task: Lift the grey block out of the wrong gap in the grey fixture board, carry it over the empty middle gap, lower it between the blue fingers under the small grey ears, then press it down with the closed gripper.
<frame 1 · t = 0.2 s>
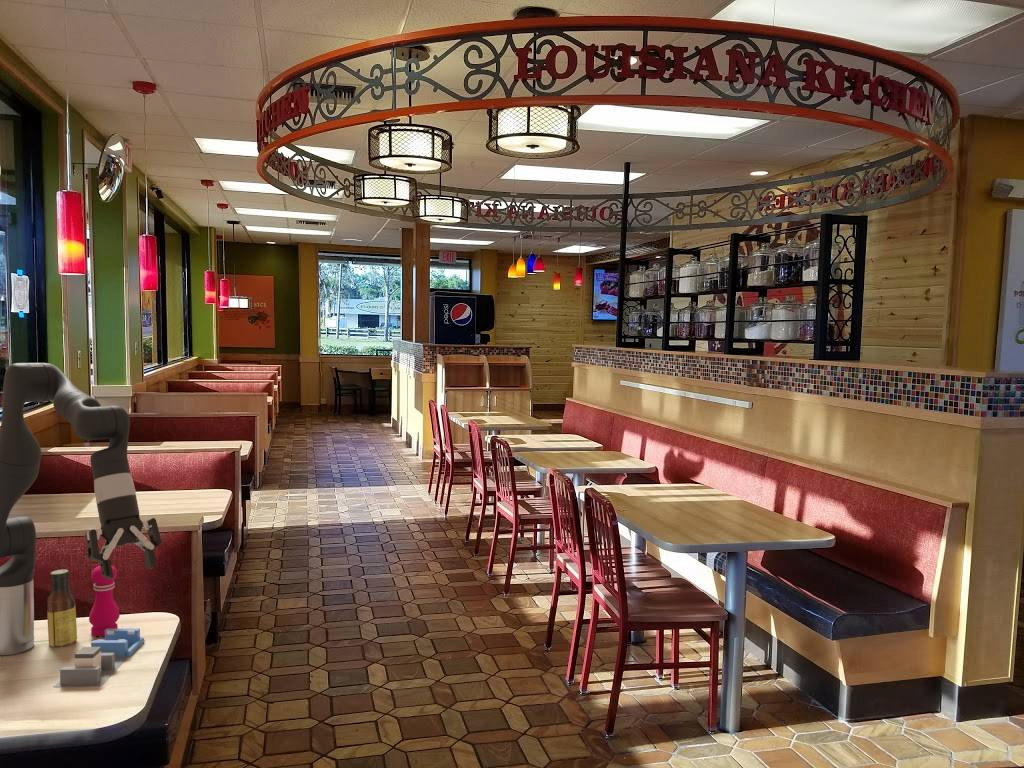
hand: (130, 573, 159), 31 cm above the table, tool tilted 20°, fingers open, 8 cm apart
sauce bottle: (62, 648, 194), on the table
grey block: (88, 675, 176), point 1 cm above the table, touching grey fixture board
pepper mill: (104, 633, 204), on the table
grey fixture board: (102, 667, 183), on the table
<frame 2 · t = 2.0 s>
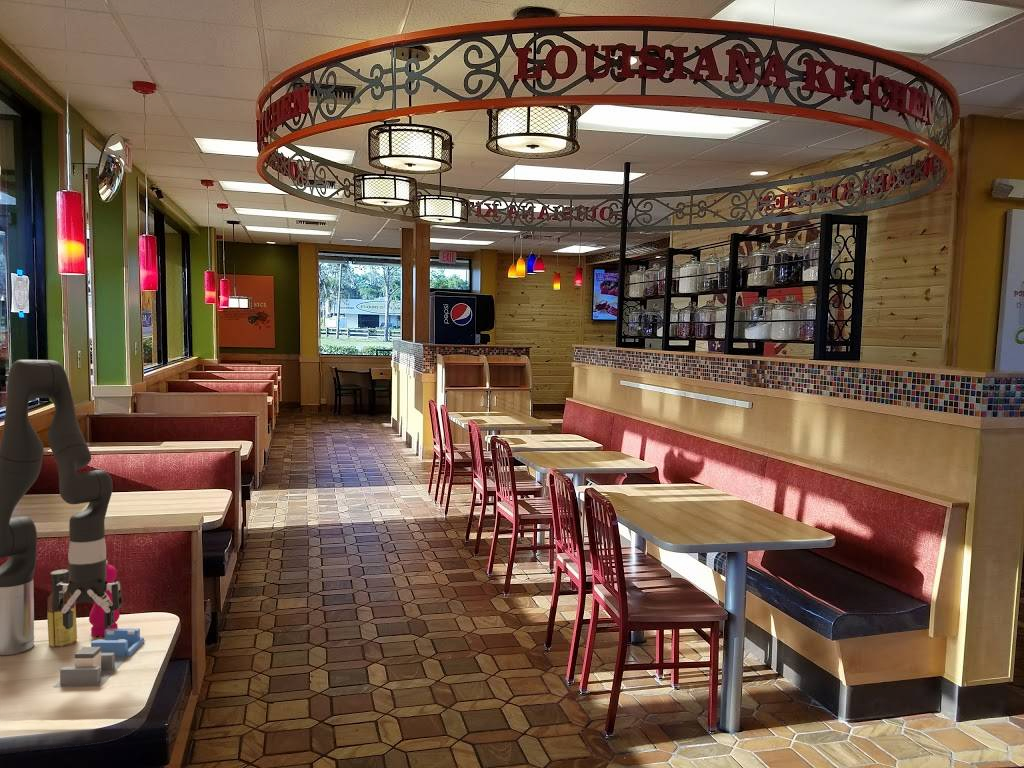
hand: (88, 627, 175), 13 cm above the table, tool pointing down, fingers open, 8 cm apart
nothing on the table moved.
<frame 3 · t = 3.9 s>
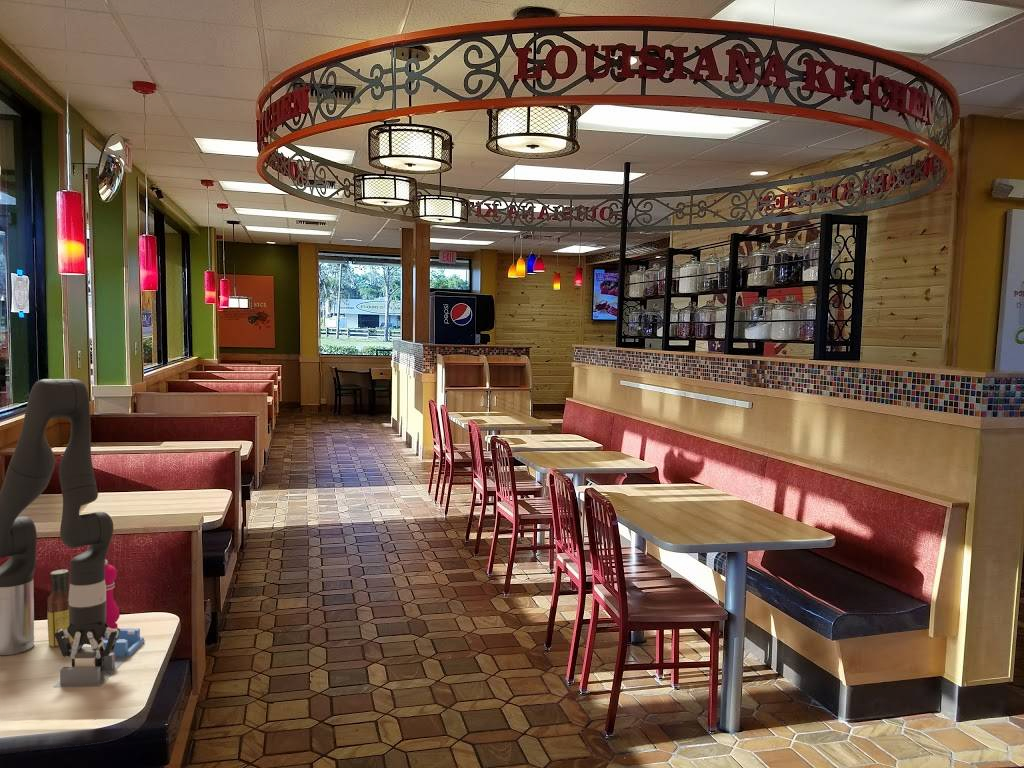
hand: (88, 672, 176), 2 cm above the table, tool pointing down, fingers closed on grey block, 4 cm apart
grey block: (88, 675, 176), point 2 cm above the table, touching grey fixture board, gripper
everything else where it was.
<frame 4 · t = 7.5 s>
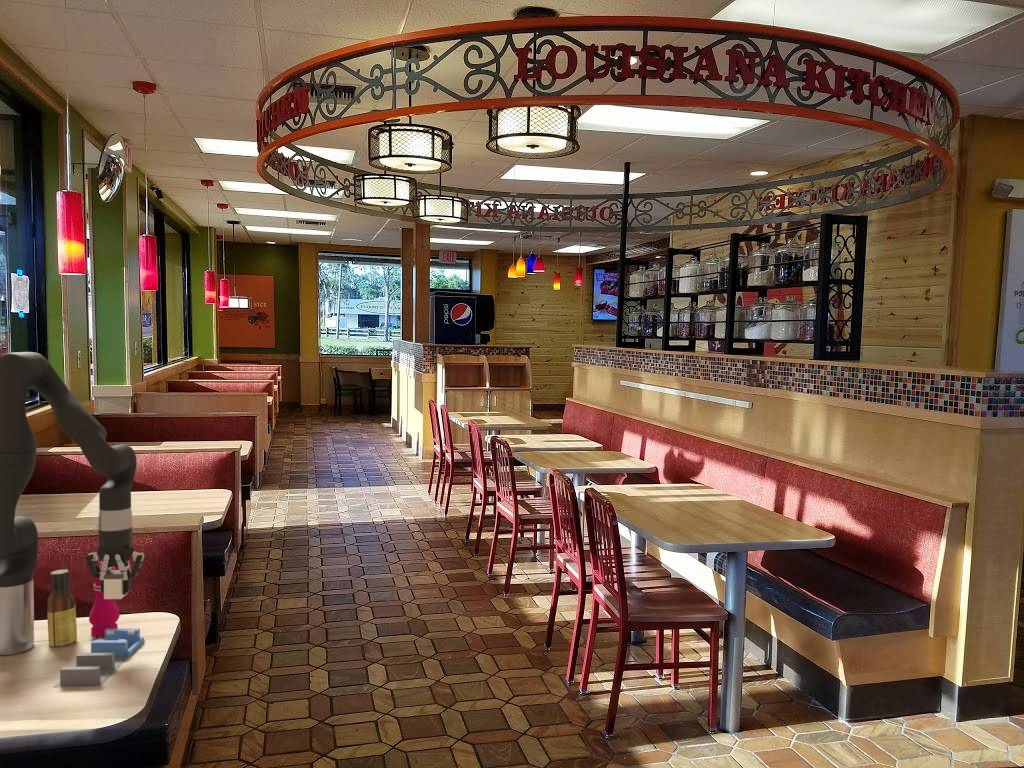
hand: (115, 593, 190), 16 cm above the table, tool pointing down, fingers closed on grey block, 4 cm apart
grey block: (116, 596, 190), point 15 cm above the table, touching gripper
everything else where it was.
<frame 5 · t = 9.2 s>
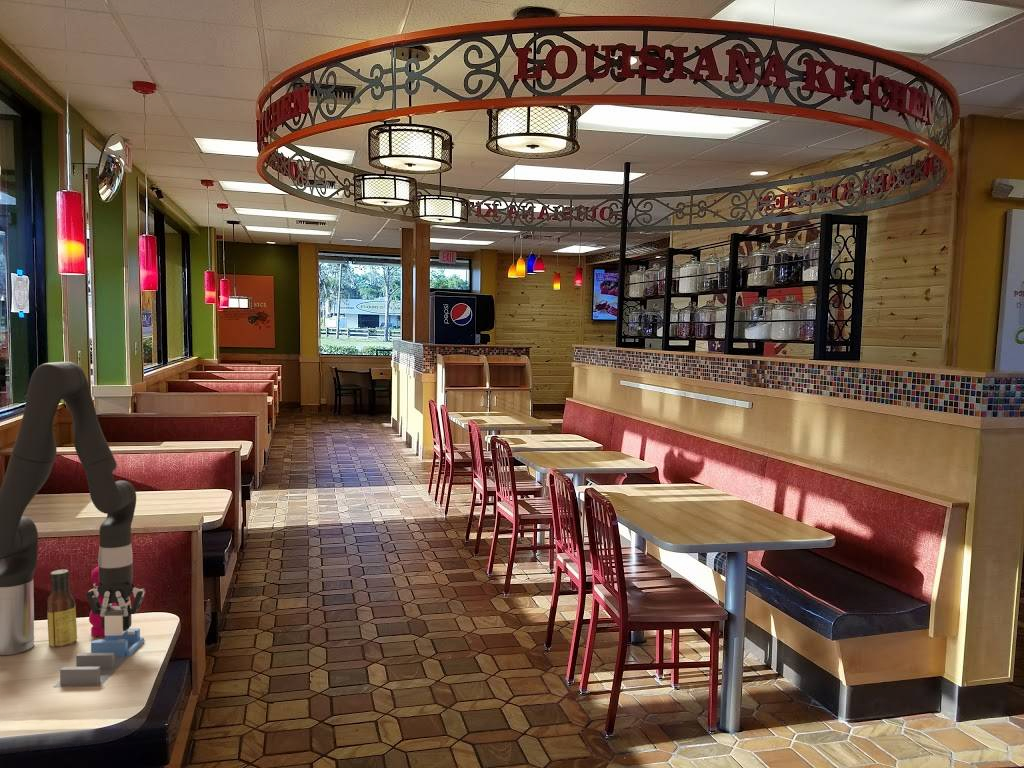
hand: (116, 629, 190), 7 cm above the table, tool pointing down, fingers closed on grey block, 4 cm apart
grey block: (116, 632, 190), point 6 cm above the table, touching gripper
everything else where it was.
when the fingers open (3 cm above the table, at t = 10.9 s): grey block drops 1 cm, resting on grey fixture board.
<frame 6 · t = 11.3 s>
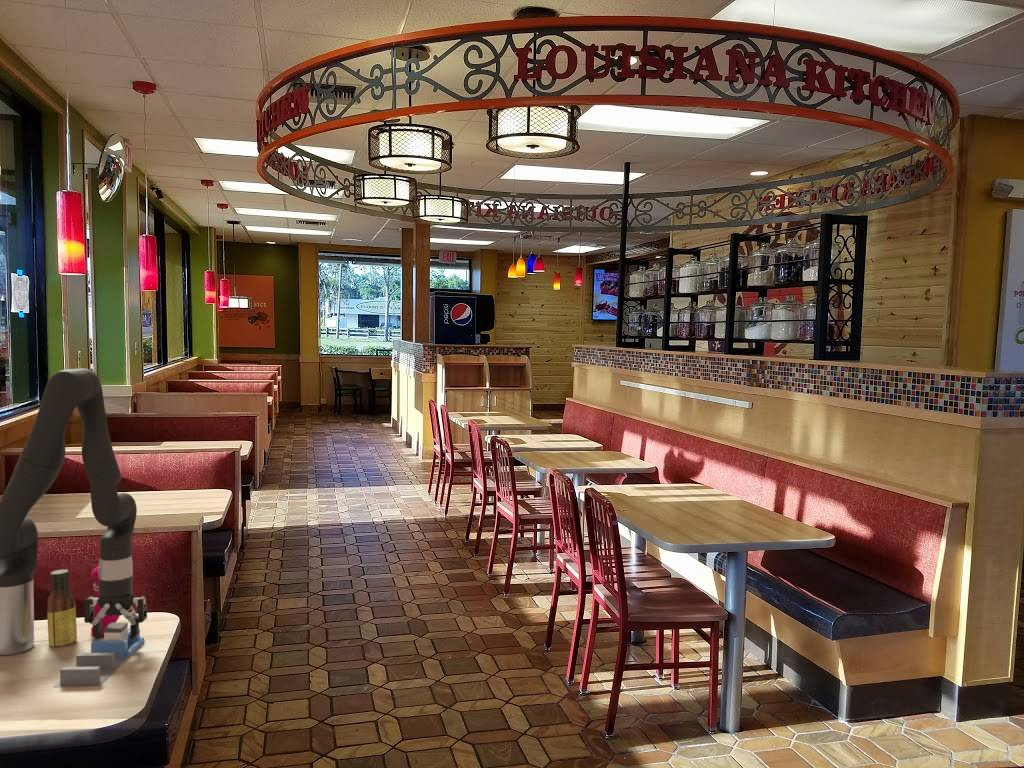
hand: (116, 638, 190), 4 cm above the table, tool pointing down, fingers open, 8 cm apart
grey block: (116, 649, 191), point 1 cm above the table, touching grey fixture board
everything else where it was.
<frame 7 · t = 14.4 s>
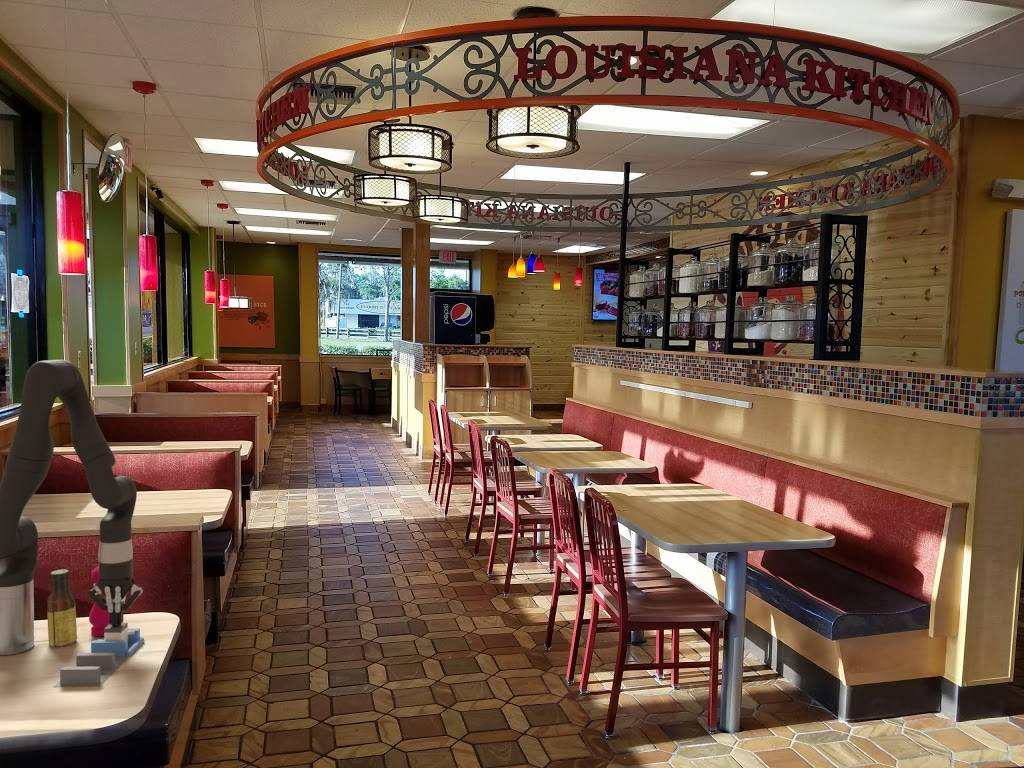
hand: (116, 625, 190), 7 cm above the table, tool pointing down, fingers closed
grey block: (116, 649, 191), point 1 cm above the table, touching grey fixture board, gripper
everything else where it was.
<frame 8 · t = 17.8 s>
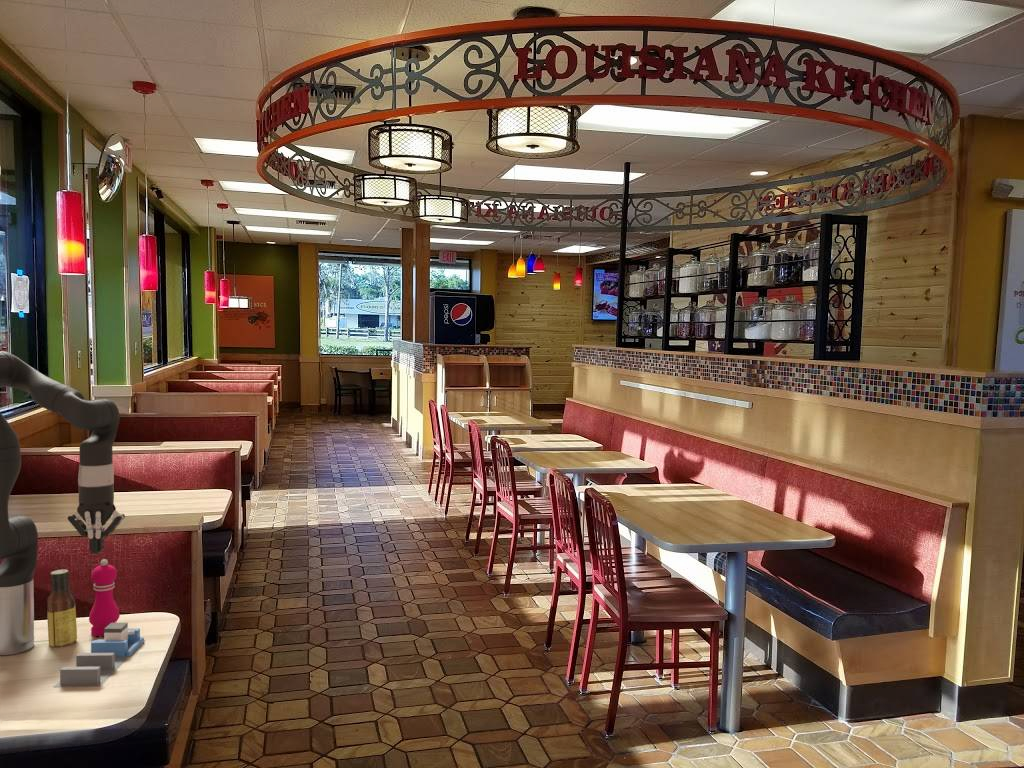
hand: (96, 552, 185), 27 cm above the table, tool pointing down, fingers closed
grey block: (116, 649, 191), point 1 cm above the table, touching grey fixture board
everything else where it was.
at the end: grey block 0.0 cm from the target spot on the grey fixture board, point 1.5 cm above the grey fixture board's base; grey block tilted 0°; the gripper is holding nothing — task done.
